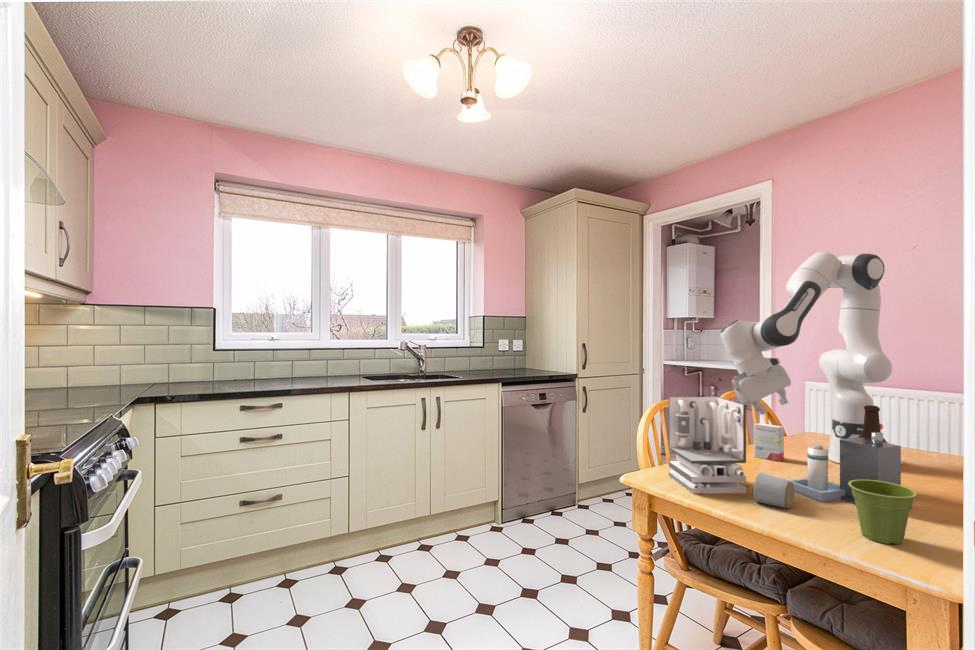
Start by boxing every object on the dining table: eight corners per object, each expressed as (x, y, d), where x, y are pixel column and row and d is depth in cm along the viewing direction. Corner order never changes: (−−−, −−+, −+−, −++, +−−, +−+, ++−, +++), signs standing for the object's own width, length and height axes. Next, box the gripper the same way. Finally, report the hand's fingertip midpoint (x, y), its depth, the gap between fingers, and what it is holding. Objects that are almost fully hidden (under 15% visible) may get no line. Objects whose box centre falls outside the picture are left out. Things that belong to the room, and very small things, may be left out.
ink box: (784, 459, 171) (784, 426, 171) (779, 462, 167) (779, 427, 167) (758, 454, 177) (758, 422, 177) (753, 457, 174) (753, 424, 174)
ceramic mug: (788, 512, 122) (788, 482, 122) (752, 504, 127) (752, 475, 128) (798, 502, 129) (798, 474, 129) (764, 495, 135) (764, 467, 135)
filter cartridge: (816, 487, 139) (816, 443, 139) (832, 493, 134) (832, 447, 134) (803, 489, 137) (803, 444, 138) (819, 495, 133) (819, 448, 133)
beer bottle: (857, 482, 146) (857, 402, 146) (890, 488, 140) (890, 406, 140) (852, 488, 140) (852, 405, 140) (887, 495, 135) (887, 409, 135)
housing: (860, 492, 137) (860, 425, 137) (911, 508, 124) (911, 435, 124) (830, 495, 134) (830, 427, 134) (879, 513, 121) (879, 438, 121)
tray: (815, 485, 143) (815, 477, 143) (852, 498, 132) (852, 489, 132) (785, 488, 140) (785, 480, 140) (821, 502, 129) (821, 492, 129)
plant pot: (844, 523, 115) (844, 476, 115) (909, 534, 109) (909, 484, 109) (852, 542, 105) (852, 490, 105) (923, 555, 99) (923, 500, 99)
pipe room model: (717, 475, 152) (717, 396, 152) (753, 497, 133) (753, 406, 133) (668, 476, 151) (668, 396, 152) (697, 498, 132) (697, 407, 132)
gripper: (737, 375, 149) (759, 418, 146) (782, 356, 156) (804, 396, 153) (723, 380, 155) (744, 421, 151) (766, 362, 162) (788, 400, 159)
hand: (774, 408), depth 152 cm, fingers open, 8 cm apart
